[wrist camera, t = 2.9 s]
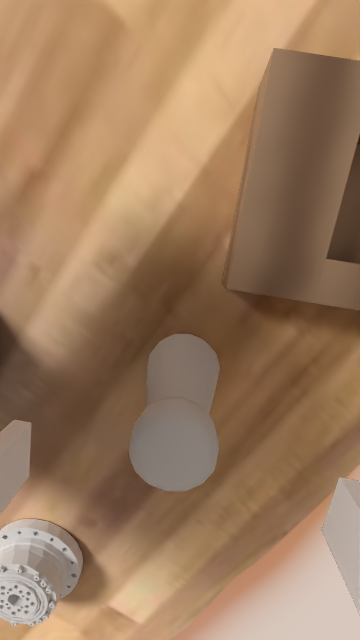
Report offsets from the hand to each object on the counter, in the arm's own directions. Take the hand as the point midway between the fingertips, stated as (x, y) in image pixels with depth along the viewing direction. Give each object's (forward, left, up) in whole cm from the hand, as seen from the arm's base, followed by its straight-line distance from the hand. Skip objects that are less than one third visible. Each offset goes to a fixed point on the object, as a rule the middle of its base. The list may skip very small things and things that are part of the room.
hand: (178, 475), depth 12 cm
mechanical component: (-12, -25, -14) cm, 31 cm away
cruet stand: (+12, +14, -14) cm, 23 cm away
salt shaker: (0, 0, -14) cm, 14 cm away
